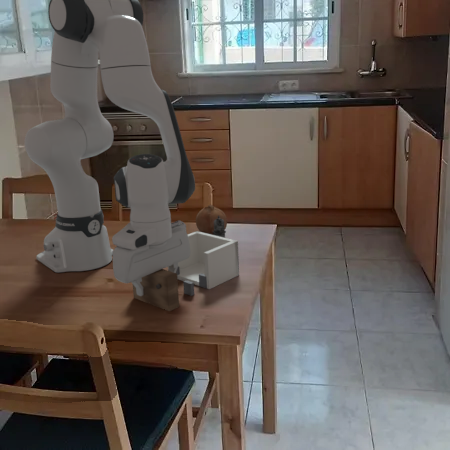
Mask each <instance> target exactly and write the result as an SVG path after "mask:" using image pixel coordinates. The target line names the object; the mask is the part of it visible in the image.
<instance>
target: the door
mask: <svg viewBox="0 0 450 450" xmlns="http://www.w3.org/2000/svg"><path fill="white" fill-rule="evenodd" d="M140 283H141V285H142V286H144V287H146V292H147V293H146V294H145V295H143V296H139V295H137V293H136V287H135V286H134V285H133V284H132V283H131V284H132V295H133V298H134V299H136V300H138V301H141V302H142V303H146V304H149V305H151V306H153V307H156V308H160V309H162V310H164V309H165V311H167V312H171V311H174V310H176V309H178V308H179V307H180V299H179V298H180V297H179V296H180V295H179V283H178V279H177V273H174V272H170V271H168V269H165V268H163V269H161V270H159V271H156V272H154V273H151V274H149V275H147V276H144V277H142V282H140Z"/></svg>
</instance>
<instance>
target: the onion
mask: <svg viewBox="0 0 450 450" xmlns="http://www.w3.org/2000/svg"><path fill="white" fill-rule="evenodd" d="M218 216H220V219H223V220H224V229H225V230H226V228H227V227H228V226H227V224H228V219H227V215H226V214H225V212H224V211H223V210H222V209H220V208H218V207H217V206H214V205H212V204H211V203H210V204H209V205H208V206H205V207H203V208H202V209H201V210H199V212H198V213H197V214H196V217H195V225H196V228H197V231H199V232H203V233H207V234H211V235H214V234H213V231H214V220H216V219H217V218H218Z"/></svg>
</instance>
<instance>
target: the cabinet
mask: <svg viewBox="0 0 450 450" xmlns="http://www.w3.org/2000/svg"><path fill="white" fill-rule="evenodd" d="M187 235H188V239H189V244H190V256H189V258H187V259H185V260H183V261H180V262H178V268H177V271H176V273H177V280H179V281H182V282H183V283H182V285H183V294H185V295H187V296H190V297H192V296H194V295H195V286H199V287H201V288H204V289H206V290H211V289H213V288H215V287H217V286H219V285H221V284H223V283H226V282H228V281H229V280H231V279H234V278H236V277H238V276H240V267H239V265H240V262H239V260H240V259H239V257H240V256H239V241H238V240H235V239H230V238H228V237H225V238H223V237H219V236H215V235H211V234H207V233H203V232H200V231H199V230H196V231H193V232H191V233H187ZM168 269H169V266H168V267H167V270H168Z"/></svg>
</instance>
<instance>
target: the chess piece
mask: <svg viewBox="0 0 450 450" xmlns="http://www.w3.org/2000/svg"><path fill="white" fill-rule="evenodd" d="M226 233H227V231H226V229H224V220H223V219H220V216H218V218H217V219H216V220H214V231H213V234H214V235H215V236H219V237H223V238H226Z"/></svg>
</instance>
